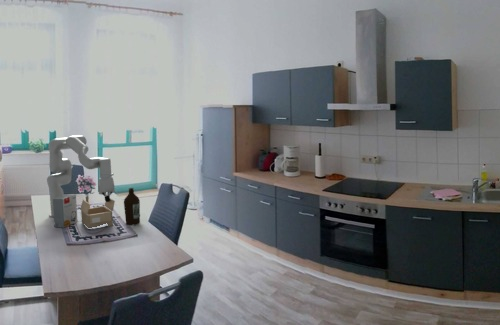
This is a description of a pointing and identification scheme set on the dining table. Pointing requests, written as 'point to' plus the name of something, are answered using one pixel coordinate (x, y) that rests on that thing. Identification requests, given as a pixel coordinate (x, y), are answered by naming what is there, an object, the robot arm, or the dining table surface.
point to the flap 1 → (85, 207)
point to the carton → (97, 217)
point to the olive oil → (132, 208)
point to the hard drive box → (65, 210)
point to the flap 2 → (110, 204)
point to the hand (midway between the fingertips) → (107, 201)
